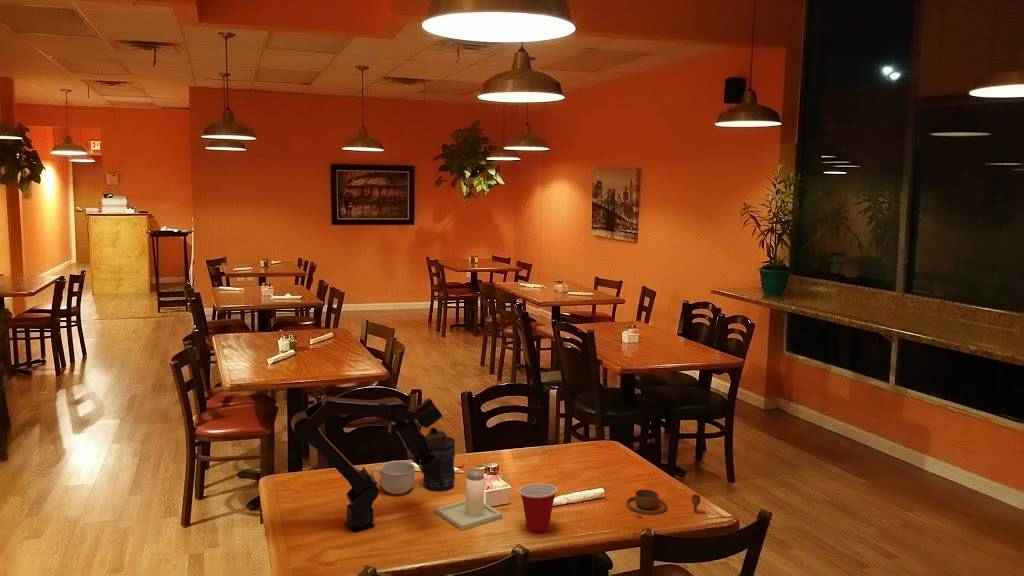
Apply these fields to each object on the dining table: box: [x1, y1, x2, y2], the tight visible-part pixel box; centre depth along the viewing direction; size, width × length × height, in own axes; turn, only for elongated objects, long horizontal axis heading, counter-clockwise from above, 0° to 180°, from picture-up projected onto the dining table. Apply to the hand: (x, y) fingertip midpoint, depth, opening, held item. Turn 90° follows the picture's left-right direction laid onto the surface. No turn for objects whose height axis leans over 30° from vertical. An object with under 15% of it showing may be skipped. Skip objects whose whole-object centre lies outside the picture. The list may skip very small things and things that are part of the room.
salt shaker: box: [465, 468, 485, 518], centre depth 226 cm, size 5×5×13 cm
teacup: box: [369, 460, 416, 495], centre depth 243 cm, size 14×11×8 cm
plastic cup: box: [518, 482, 558, 534], centre depth 218 cm, size 11×11×12 cm
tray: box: [435, 499, 503, 532], centre depth 226 cm, size 14×14×2 cm
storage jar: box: [423, 435, 456, 493], centre depth 247 cm, size 10×10×15 cm
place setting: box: [626, 488, 701, 519], centre depth 233 cm, size 18×20×6 cm
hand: (438, 480), depth 225 cm, fingers open, 9 cm apart
